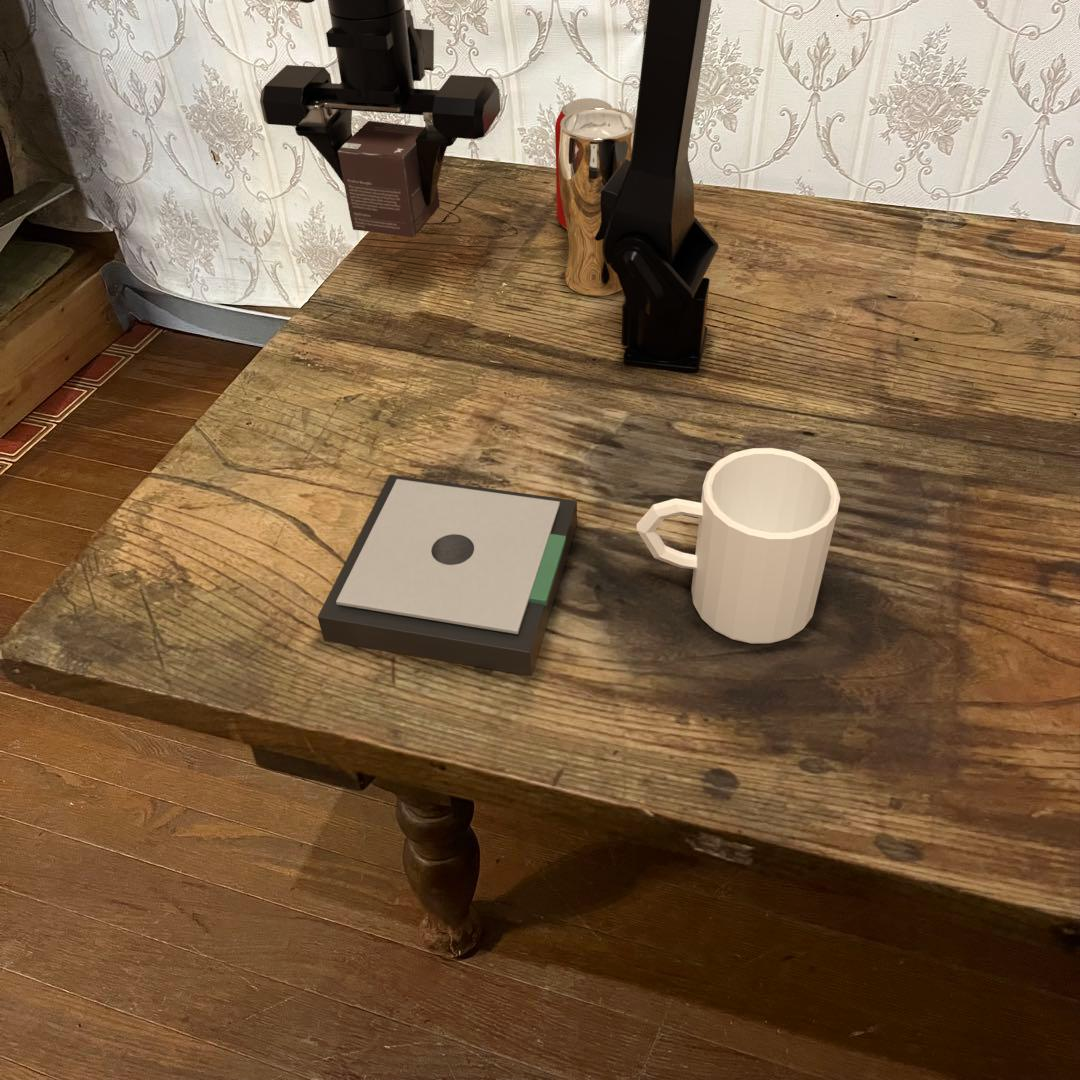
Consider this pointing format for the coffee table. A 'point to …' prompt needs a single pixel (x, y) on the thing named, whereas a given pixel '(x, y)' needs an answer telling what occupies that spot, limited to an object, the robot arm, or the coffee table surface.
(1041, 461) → the coffee table surface
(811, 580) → the mug
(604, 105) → the beverage can
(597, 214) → the beer glass
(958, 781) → the coffee table surface
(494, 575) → the scale
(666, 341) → the robot arm
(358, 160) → the box
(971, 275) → the coffee table surface
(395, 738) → the coffee table surface
